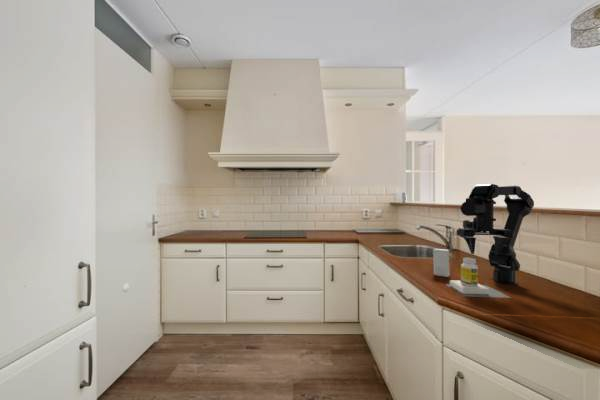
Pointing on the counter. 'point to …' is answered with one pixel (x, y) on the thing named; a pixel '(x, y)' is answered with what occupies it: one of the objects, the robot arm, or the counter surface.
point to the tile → (469, 288)
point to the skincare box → (441, 262)
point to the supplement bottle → (469, 272)
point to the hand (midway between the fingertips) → (484, 254)
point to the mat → (491, 294)
